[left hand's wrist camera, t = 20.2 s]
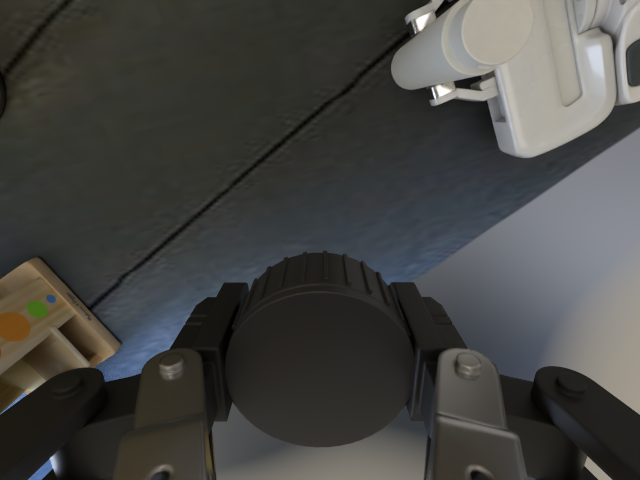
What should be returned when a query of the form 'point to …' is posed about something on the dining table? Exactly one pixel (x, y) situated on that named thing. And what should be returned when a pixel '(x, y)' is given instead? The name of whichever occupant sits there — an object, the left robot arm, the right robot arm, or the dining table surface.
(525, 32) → the jar
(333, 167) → the dining table surface
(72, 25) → the dining table surface
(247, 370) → the lid
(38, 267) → the pounding bench toy
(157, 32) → the dining table surface
